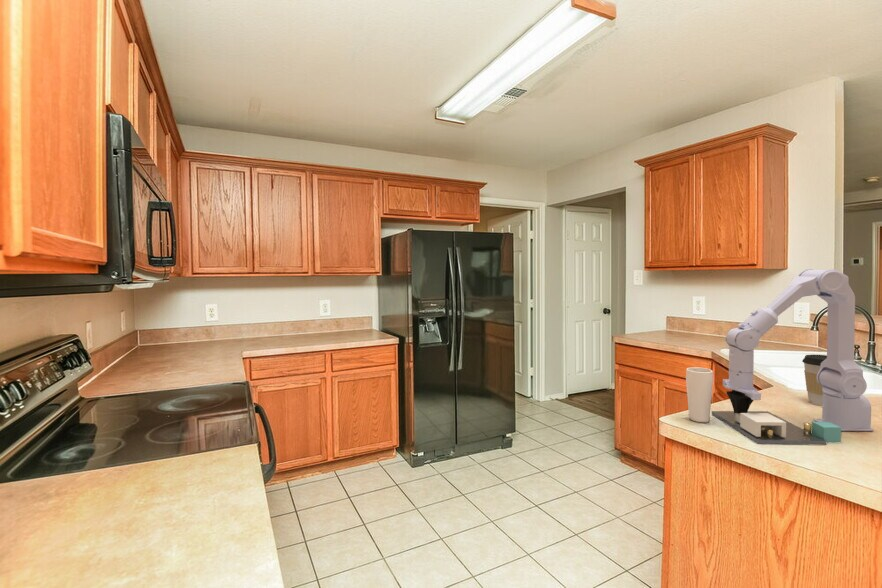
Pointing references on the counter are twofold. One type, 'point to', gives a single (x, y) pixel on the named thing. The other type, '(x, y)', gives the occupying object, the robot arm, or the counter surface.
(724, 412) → the base plate
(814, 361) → the coffee cup
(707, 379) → the drinking glass
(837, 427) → the block
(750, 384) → the robot arm
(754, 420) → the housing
